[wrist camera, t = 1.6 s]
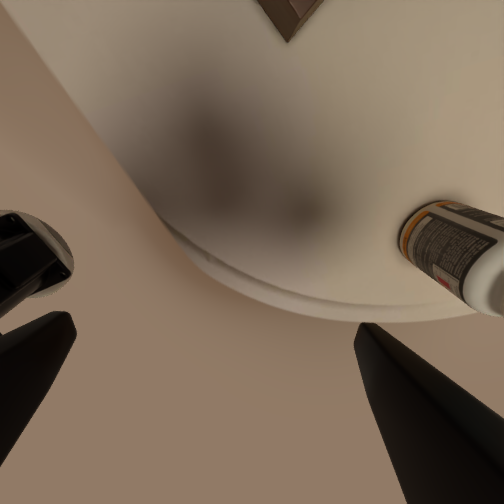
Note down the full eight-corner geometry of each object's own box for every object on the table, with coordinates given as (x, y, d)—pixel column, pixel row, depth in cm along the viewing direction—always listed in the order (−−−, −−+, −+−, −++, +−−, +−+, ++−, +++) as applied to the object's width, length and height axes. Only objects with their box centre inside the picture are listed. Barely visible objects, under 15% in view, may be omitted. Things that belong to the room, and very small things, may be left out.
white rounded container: (413, 273, 22) (527, 368, 14) (385, 229, 20) (498, 306, 11) (475, 235, 21) (649, 313, 12) (452, 183, 19) (641, 231, 10)
